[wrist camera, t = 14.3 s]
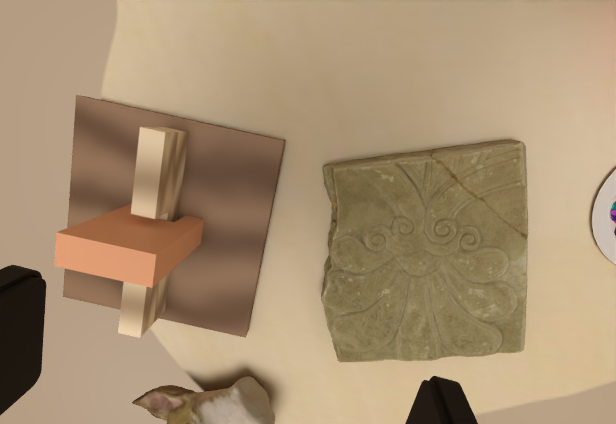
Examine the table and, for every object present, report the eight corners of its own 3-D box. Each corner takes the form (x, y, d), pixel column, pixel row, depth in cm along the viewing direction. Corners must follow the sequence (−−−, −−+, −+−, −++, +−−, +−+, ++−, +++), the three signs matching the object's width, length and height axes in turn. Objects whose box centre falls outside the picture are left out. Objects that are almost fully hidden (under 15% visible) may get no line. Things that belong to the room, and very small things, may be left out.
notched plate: (132, 203, 35) (56, 232, 25) (204, 219, 35) (156, 254, 25) (129, 228, 36) (54, 266, 26) (200, 244, 36) (152, 287, 26)
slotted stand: (84, 96, 34) (32, 89, 28) (285, 140, 34) (276, 143, 28) (71, 291, 39) (23, 321, 33) (247, 331, 39) (233, 368, 33)
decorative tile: (514, 138, 33) (535, 139, 30) (512, 338, 38) (530, 359, 34) (308, 160, 35) (305, 163, 31) (328, 350, 39) (328, 371, 36)
